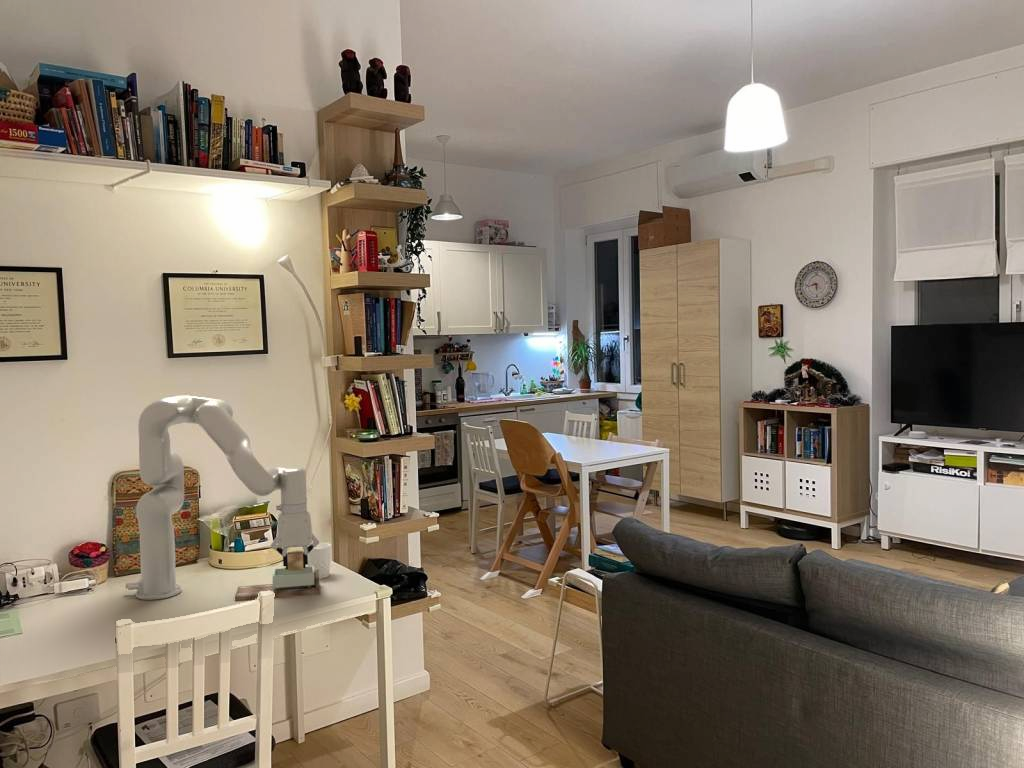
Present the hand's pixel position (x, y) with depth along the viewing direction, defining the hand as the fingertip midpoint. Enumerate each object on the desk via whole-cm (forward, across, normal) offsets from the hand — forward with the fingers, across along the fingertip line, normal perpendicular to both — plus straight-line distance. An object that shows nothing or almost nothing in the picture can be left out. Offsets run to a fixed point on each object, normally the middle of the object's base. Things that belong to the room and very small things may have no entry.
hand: (295, 567), depth 235 cm
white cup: (+8, +7, +14) cm, 17 cm away
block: (0, 0, 0) cm, 0 cm away
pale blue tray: (+6, -1, 0) cm, 6 cm away
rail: (+7, -5, 0) cm, 9 cm away
